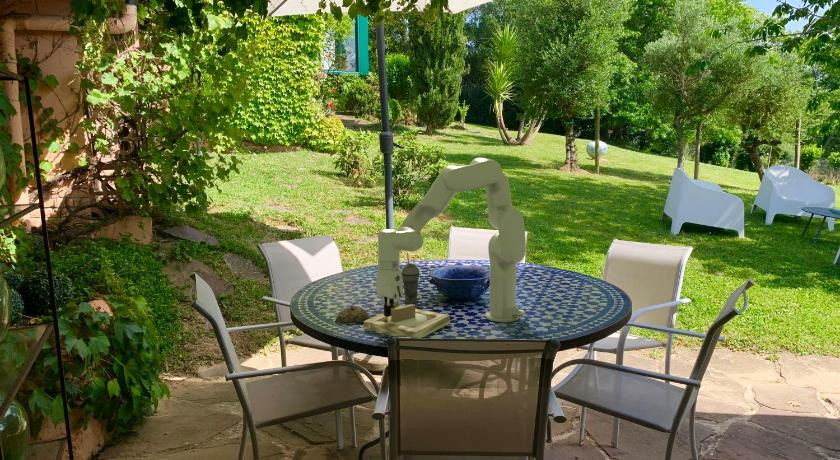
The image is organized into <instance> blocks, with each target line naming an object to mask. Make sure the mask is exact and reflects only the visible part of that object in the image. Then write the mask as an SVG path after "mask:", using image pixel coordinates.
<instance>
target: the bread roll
mask: <svg viewBox="0 0 840 460" xmlns="http://www.w3.org/2000/svg"><path fill="white" fill-rule="evenodd" d="M368 319H370V315H369V313H368V312H367V311H366V310H365V308H362V307H360V306H353V305H352V306H350V307H345V308H344V309H343V310H342V311H340V312H338V314H337V316H336V318H335V319H334V320H335V323H336V324H343V325H345V324H347V325H348V324H350V325H351V323H352V324H361V322H364V321H366V320H368Z"/></svg>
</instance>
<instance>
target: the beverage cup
mask: <svg viewBox="0 0 840 460" xmlns="http://www.w3.org/2000/svg"><path fill="white" fill-rule="evenodd" d="M406 259H407V263H406V264H405V265H404V266H403V267H402V270H401V273H402V281H403V296H404V300H405V303H408V304H413V303H416V302H417V298H418V287H419V277H420V274H421V273H420V269H419V267H418V266H417V265H416V264H414V263H411V262H410V258H409V252H406Z"/></svg>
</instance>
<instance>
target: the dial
mask: <svg viewBox="0 0 840 460" xmlns="http://www.w3.org/2000/svg"><path fill="white" fill-rule="evenodd" d="M401 306H402V305H401ZM415 309H416V304H413V303H409V304H407V305H403V306H402V307H398V308H395V307H394V308H391V316H389V317H388V323H390V324H395V325H400V326H405V327H410V328H415V327H417V326H419V325H421V324H423V323H425V322H427V317H426V316H425V315H423V314H419V313H415Z"/></svg>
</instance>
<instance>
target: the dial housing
mask: <svg viewBox="0 0 840 460" xmlns="http://www.w3.org/2000/svg"><path fill="white" fill-rule="evenodd" d="M399 307H402V305H399ZM396 308H398V307H396ZM415 313H419V314H423V315H425V316H426V317H427V322H425V323H423V324H421V325H419V326H417V327H415V328H410V327H405V326H400V325H395V324H390V323H388V317H386V316H384V312H382V313H380V314H378V315H375V316H373V317H371V318H370V317H369V319H368V320H366V321H364V323H363V330H364V329H367V330H366V331H368V330H372V331H371V332H373V331H376V332H375V333H377V332H381V333H380V334H382V333H385V334H384V335H387V334H388V336H392V337H396V336H398V337H397V338H401V337H422V338H425V336H428V335H430V334H432V333H434V332H436V331H437V330H439V329H441V328H443V327H446V326H447V325H449V324H451V315H450V314H444V313H440V312H435V311H430V310H429V311H428V310H423V309H418V308H415Z"/></svg>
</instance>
